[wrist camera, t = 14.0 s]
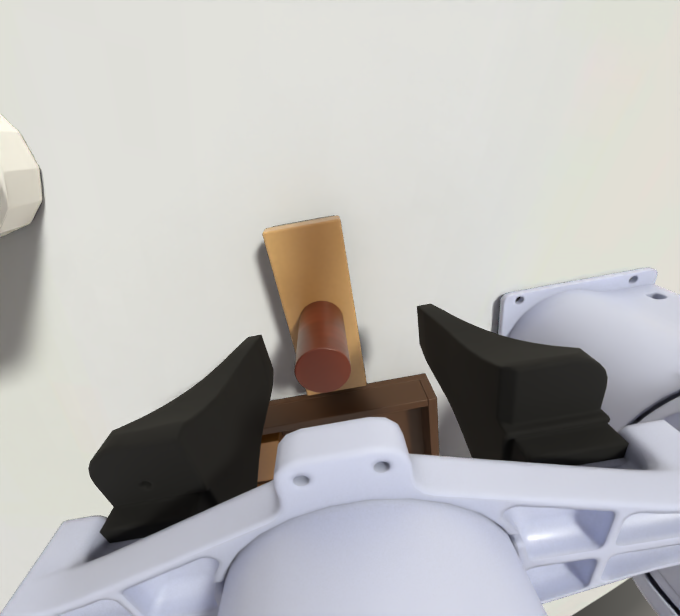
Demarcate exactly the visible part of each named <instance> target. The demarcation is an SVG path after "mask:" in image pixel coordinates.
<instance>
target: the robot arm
mask: <svg viewBox="0 0 680 616" xmlns="http://www.w3.org/2000/svg"><path fill="white" fill-rule="evenodd" d="M657 273H658V272H657V270H655V269H653V268H650V267H646V268H641V269H635V270H630V271H624V272H619V273H613V274H607V275H602V276H596V277H591V278H585V279H580V280H574V281H569V282H563V283H558V284H552V285H547V286H541V287H536V288H530V289H525V290H519V291H514V292H509V293H506V294H505V295H503V296H502V298H501V301H500V315H499V329H498V334H496V333H493V332H490V331H487V330H484V329H481V328H479V327H476V326H474V325H472V324H469V323H467V322H465V321H463V320H461V319H459V318H457V317H455V316H453V315H451V314H449V313H447V312H445V311H444V310H442V309H440V308H438V307H436V306H434V305H432V304H426V305H421V306H417V313H418V327H419V341H420V346H421V348H422V351H423V354H424V356H425V359H426V361H427V363H428V365H429V367H430V369H431V370H432V372H433V374H434V376H435V378H436V379H437V381H438V383H439V385H440V386H441V388H442V390H443V392H444V393H445V395H446V397H447V399H448V401H449V403H450V405H451V407H452V409H453V412H454V414H455V416H456V419H457V421H458V423H459V426H460V428H461V431H462V433H463V436H464V438H465V441H466V443H467V446H468V448H469V451H470V453H471V456H472V458H463V457H449V456H435V455H422V454H409V452H408V449H407V446H406V442H405V439H404V435H403V433H402V431H401V429H400V427H399V425H398V424H397V423H395V422H393V421H391V420H389V419H387V418H385V417H365V418H359V419H354V420H348V421H342V422H336V423H331V424H325V425H319V426H313V427H308V428H302V429H299V430H296V431H294V432H291V433H289V434H286V435H285V436H284V438H283V439H282V440H281V441H280V442H279V444H278V447H277V455H276V462H275V469H274V480H272V481H270V482H267V483H265V484H263V485H261V486H258V487H257V482H258V469H259V458H260V448H261V439H262V433H263V428H264V424H265V419H266V415H267V410H268V406H269V401H270V397H271V392H272V385H273V367H272V364H271V361H270V358H269V356H268V353H267V350H266V347H265V344H264V341H263V338H262V335H257V336H251V337H248V338H247V339H245V340H244V341H243V342H242V343H241V344H240V345H239V346H238V347H237V348H236V349H235V350H234V351H233V352H232V353H231V354H230V355H229V356H228V357H227V358H226V359H225V360H224V361H223V362H222V363H221V364H220V365H219V366H217V367H216V368H215V369H214V370H213V371H212V372H211V373H210V374H209V375H207V376H206V377H205V378H204V379H203V380H201V381H200V382H199V383H197V384H196V385H195V386H193V387H192V388H191V389H189V390H188V391H186V392H185V393H183V394H182V395H180V396H179V397H177V398H176V399H174V400H172V401H171V402H169V403H168V404H166V405H164V406H162V407H161V408H159V409H157V410H155V411H153V412H152V413H150V414H148V415H146V416H144V417H142V418H140V419H138V420H135V421H133V422H131V423H129V424H127V425H125V426H122V427H120V428H118V429H116V430H113V431H112V432H111V433H110V435H109V436H108V438H107V439H106V440H105V442H104V443H103V444H102V446H101V447H100V449H99V450H98V451H97V453H96V454H95V456H94V457H93V458H92V460H91V461H90V464H89V468H88V469H89V474H90V477H91V479H92V481H93V482H94V484H95V485H96V486H97V488H98V489H99V490H100V491H101V492H102V493H103V495H104V496H105V497H106V498H107V499H108V500H109V502H110V503H111V504H112V505H113V506H114V508H113V509H112V511H111V513H110V515H109V516H108V518H107V517H104V516H89V517H83V518H77V519H72V520H67V521H64V522H63V523H62V524H61V526H60V527H59V528H58V530H57V531H56V533H55V534H54V536H53V537H52V539H51V540H50V542H49V543H48V545H47V546H46V547H45V549H44V550H43V552H42V553H41V555H40V556H39V558H38V559H37V561H36V562H35V563H34V565H33V566H32V568H31V569H30V571H29V572H28V574H27V575H26V577H25V578H24V580H23V581H22V582H21V584H20V585H19V587H18V588H17V590H16V591H15V593H14V594H13V596H12V597H11V599H10V600H9V601H8V603H7V604H6V606H5V607H4V609H3V610H2V612H1V613H0V616H547V614H546V612H545V610H544V608H543V606H542V604H544V603H548V602H551V601H554V600H557V599H561V598H564V597H567V596H570V595H574V594H577V593H580V592H584V591H587V590H590V589H593V588H597V587H600V586H603V585H606V584H610V583H613V582H616V581H620V580H623V579H626V578H630V577H632V579H633V580H634V582H635V583H636V585H637V587H638V588H639V590H640V591H641V593H642V594H643V596H644V597H645V598H646V600H647V602H648V603H649V604H650V605H651V607H652V608H653V609H654V611H655V612H656V613H657V614H658V616H680V294H677V293H675V292H672V291H670V290H667V289H665V288H662V287H660V286H658V285H655V281H656V278H657ZM631 277H632V278H631ZM630 278H631V279H630ZM518 297H520V299H519V300H518V301H516V302H515V300H516V299H517V298H518Z"/></svg>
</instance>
